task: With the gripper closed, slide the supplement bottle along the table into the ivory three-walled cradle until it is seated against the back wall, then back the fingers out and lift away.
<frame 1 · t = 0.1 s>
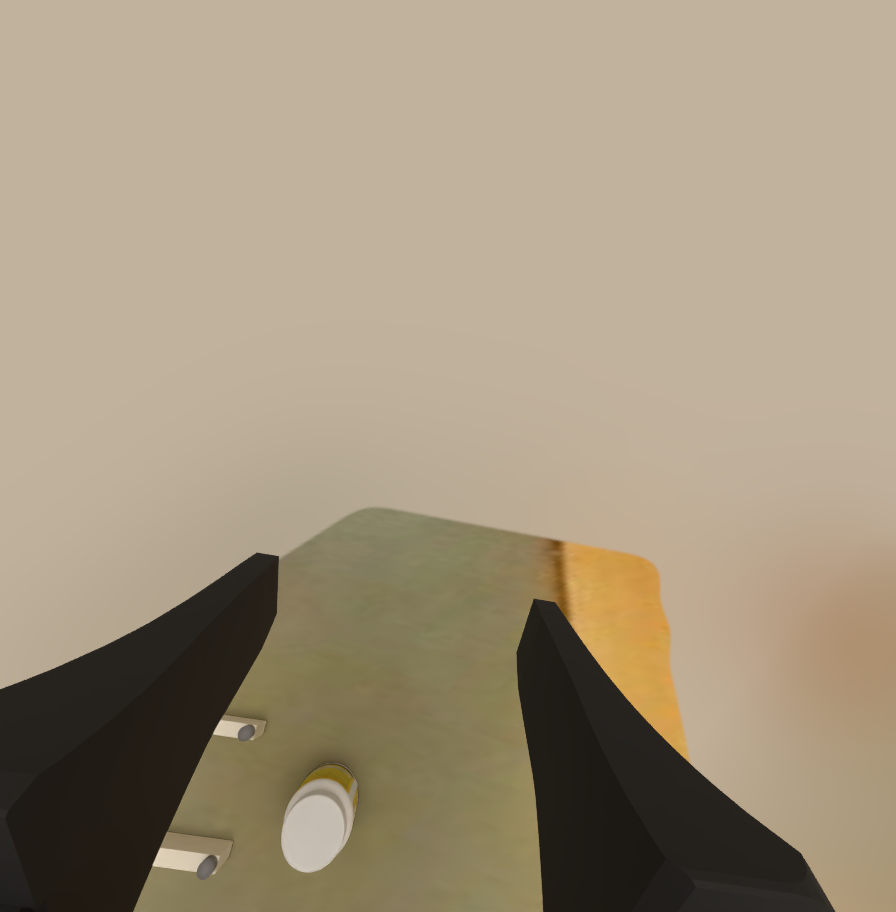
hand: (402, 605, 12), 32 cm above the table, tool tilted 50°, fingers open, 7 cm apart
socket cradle: (204, 779, 35), on the table
supplement bottle: (329, 796, 36), on the table
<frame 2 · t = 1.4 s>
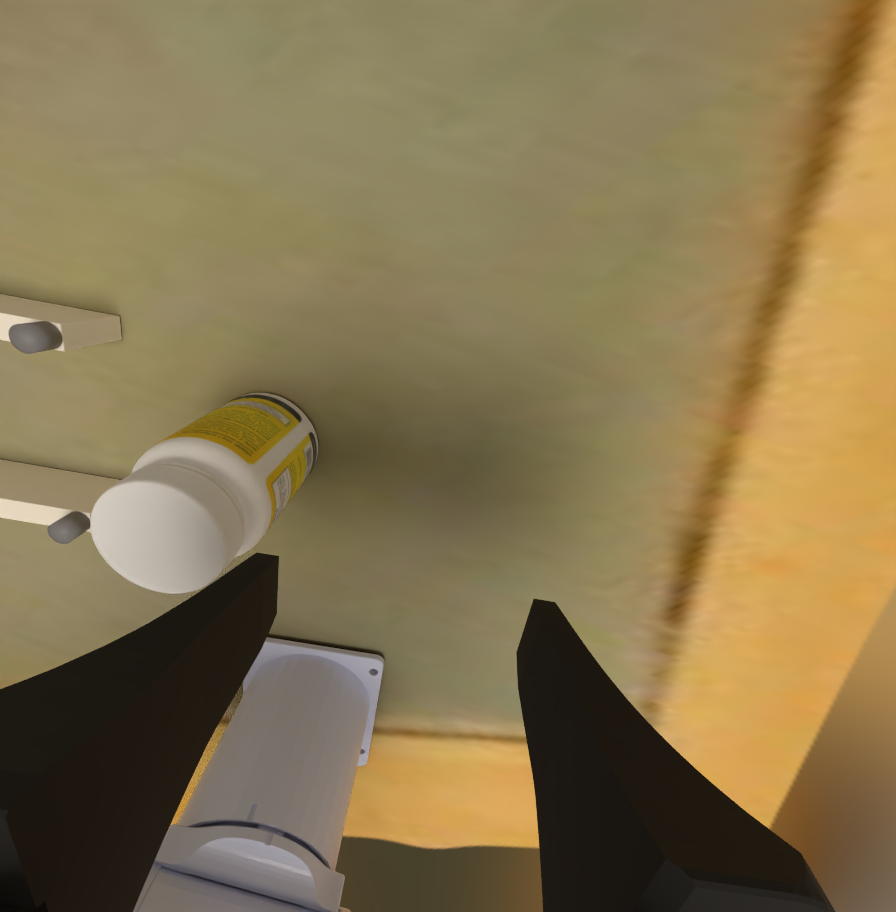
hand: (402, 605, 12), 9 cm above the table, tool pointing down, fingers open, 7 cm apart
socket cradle: (52, 402, 20), on the table
supplement bottle: (272, 438, 21), on the table
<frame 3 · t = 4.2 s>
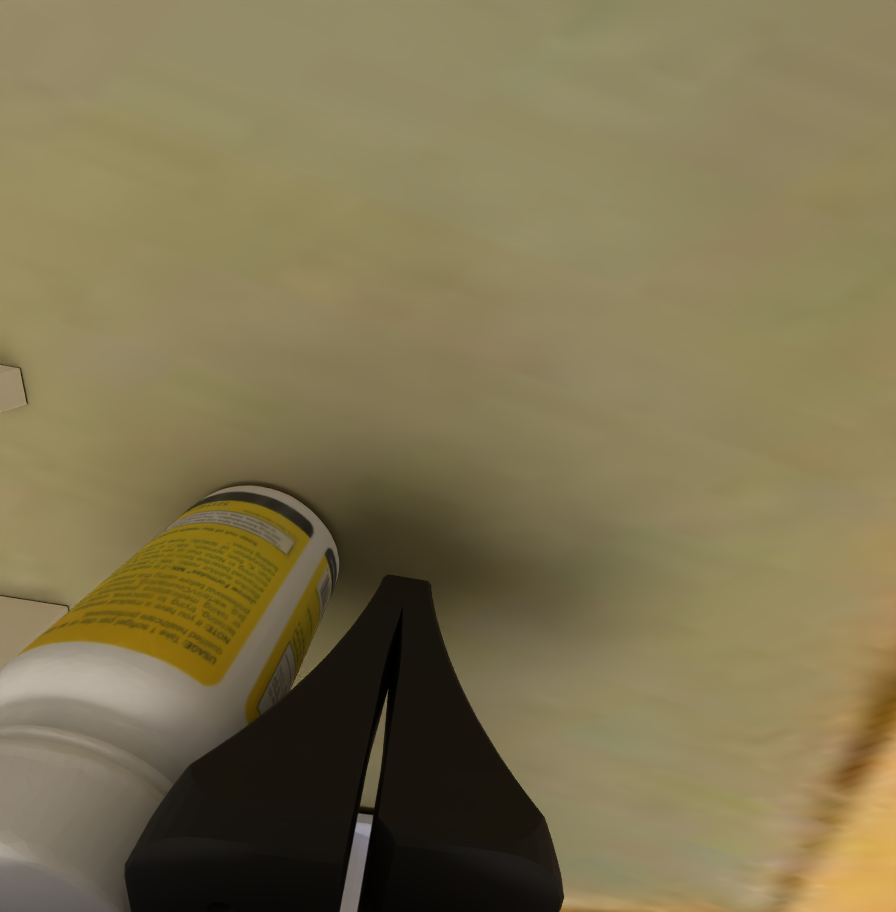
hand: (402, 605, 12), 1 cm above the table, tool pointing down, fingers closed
supplement bottle: (268, 548, 14), on the table, touching gripper
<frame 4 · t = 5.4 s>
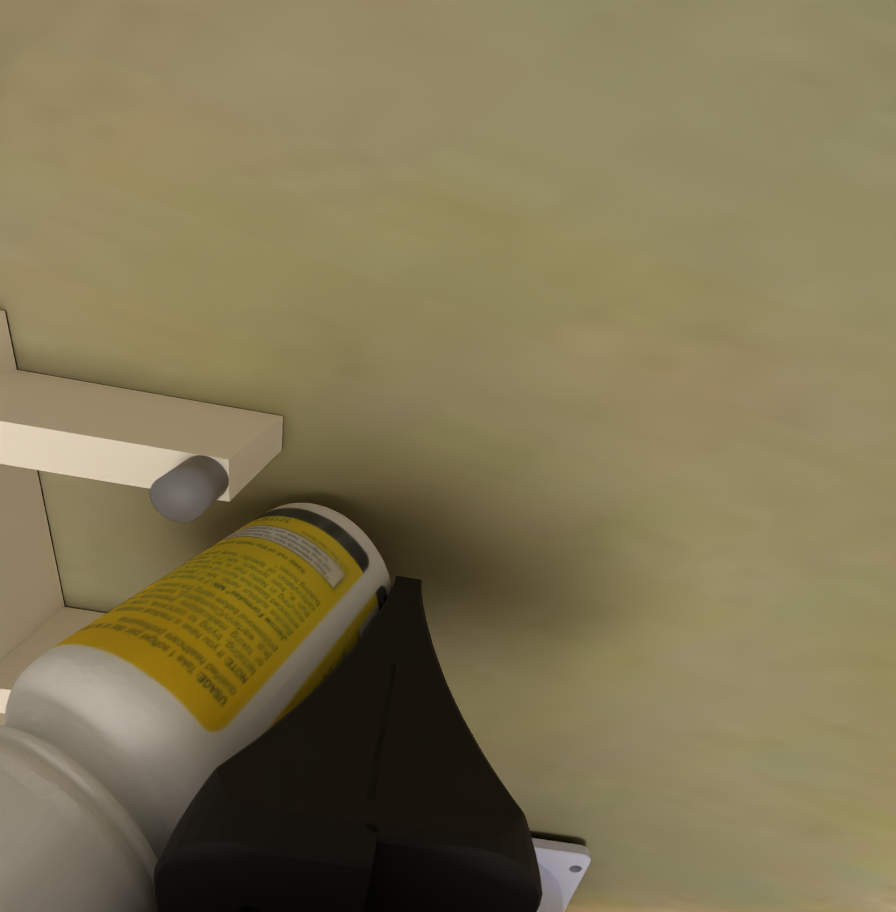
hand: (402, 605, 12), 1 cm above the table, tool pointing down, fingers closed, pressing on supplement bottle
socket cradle: (163, 535, 13), on the table
supplement bottle: (326, 569, 13), on the table, touching gripper
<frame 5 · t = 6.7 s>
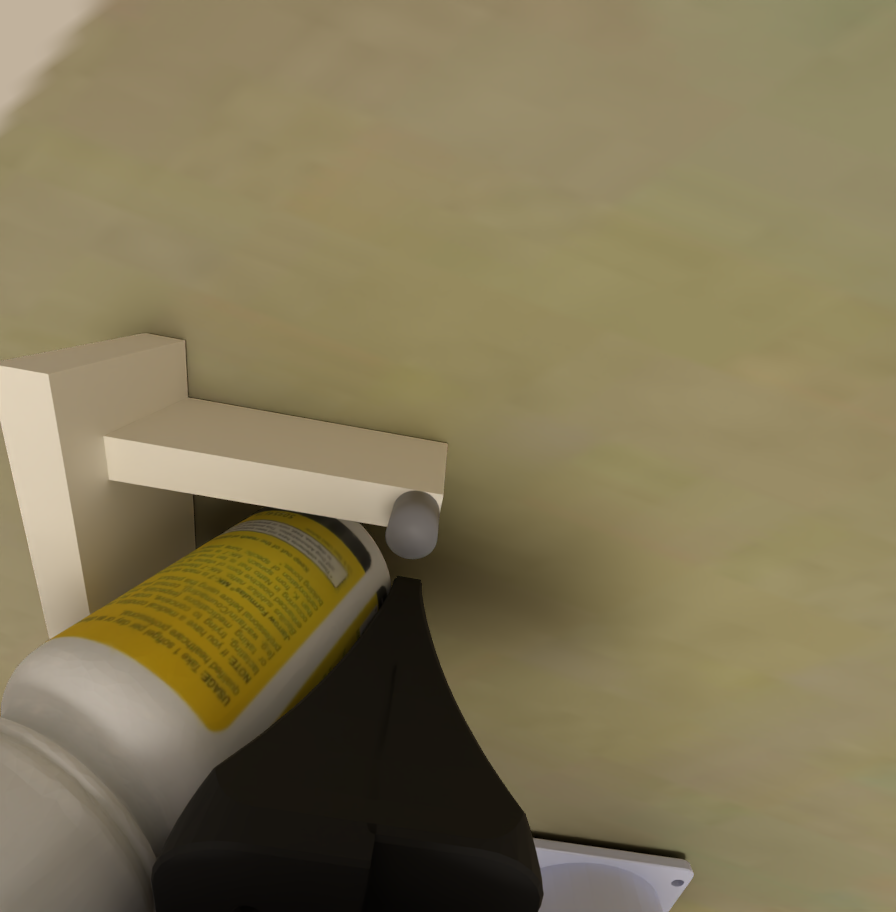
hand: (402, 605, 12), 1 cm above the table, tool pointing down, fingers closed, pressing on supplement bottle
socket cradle: (309, 558, 14), on the table
supplement bottle: (325, 565, 13), on the table, touching gripper
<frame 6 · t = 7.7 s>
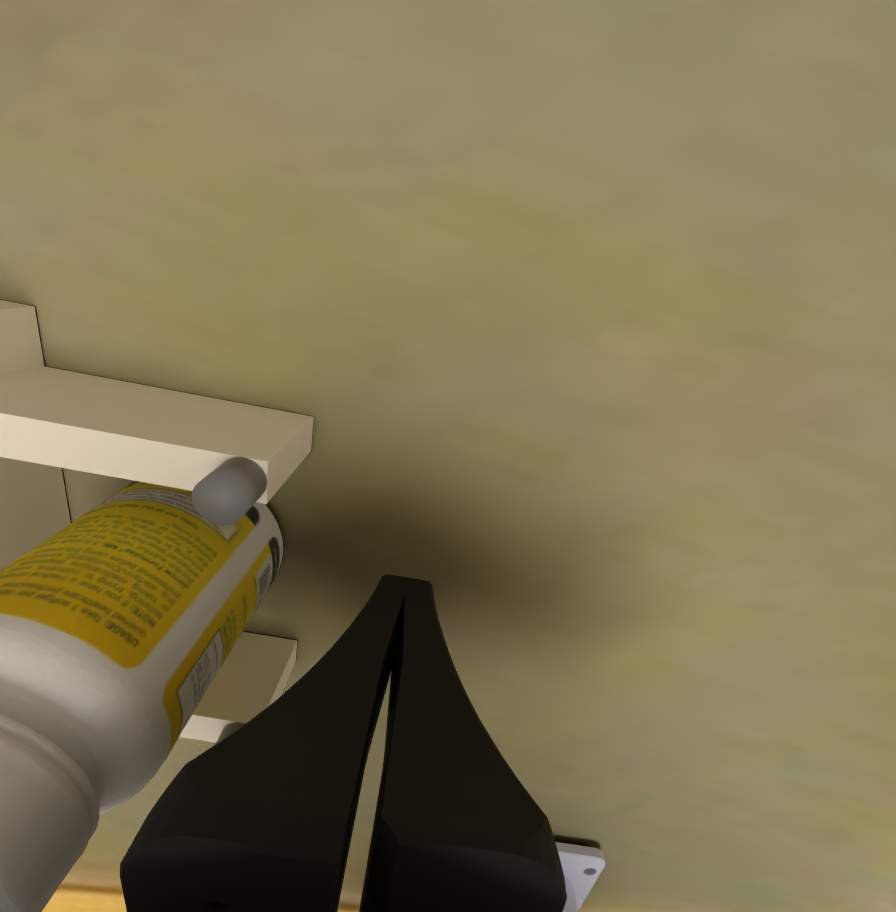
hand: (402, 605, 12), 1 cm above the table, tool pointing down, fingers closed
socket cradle: (187, 535, 13), on the table
supplement bottle: (212, 530, 14), on the table
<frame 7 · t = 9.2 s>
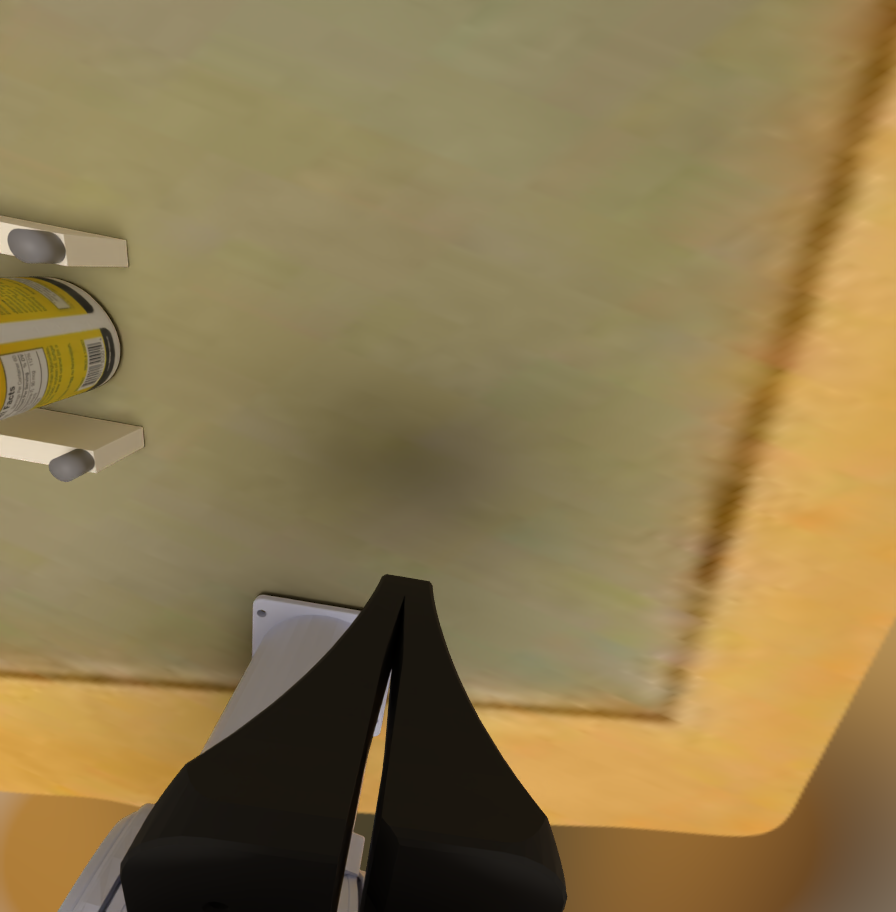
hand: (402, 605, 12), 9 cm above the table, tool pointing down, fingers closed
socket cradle: (54, 337, 19), on the table
supplement bottle: (72, 335, 19), on the table
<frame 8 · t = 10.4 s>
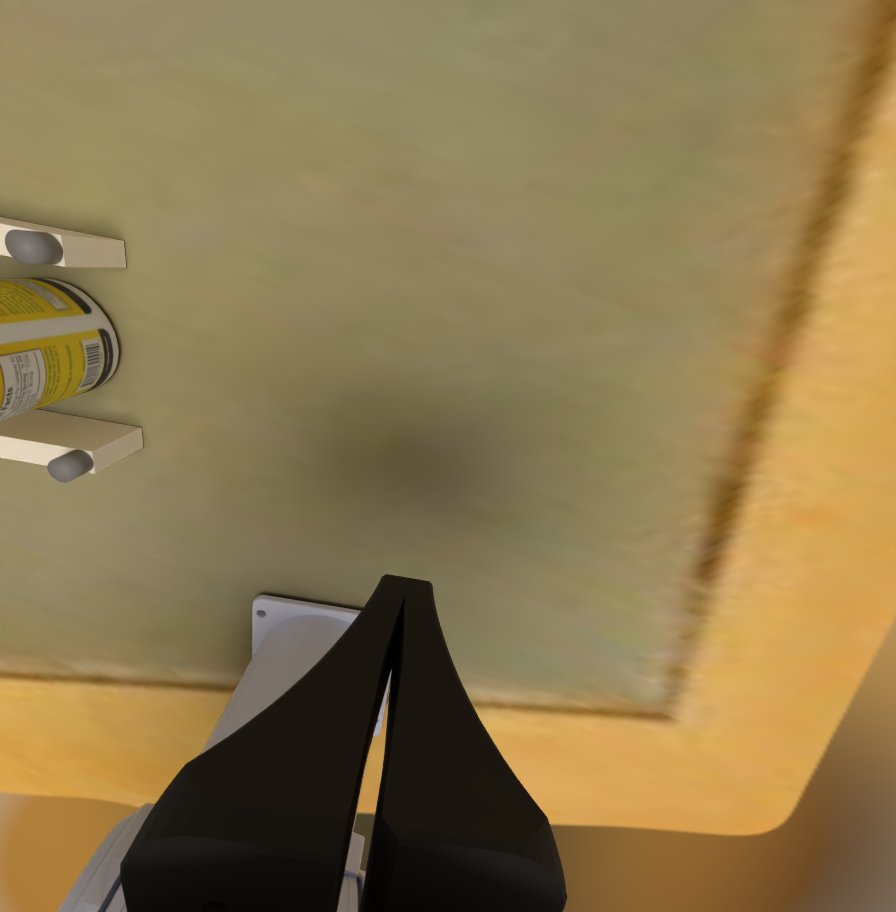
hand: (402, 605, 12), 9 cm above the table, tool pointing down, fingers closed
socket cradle: (52, 338, 19), on the table
supplement bottle: (71, 336, 19), on the table
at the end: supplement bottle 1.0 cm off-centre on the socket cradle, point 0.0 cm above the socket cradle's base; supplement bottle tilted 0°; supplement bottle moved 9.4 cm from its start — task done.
